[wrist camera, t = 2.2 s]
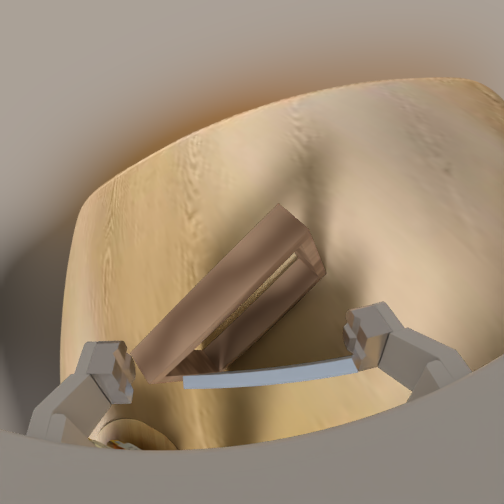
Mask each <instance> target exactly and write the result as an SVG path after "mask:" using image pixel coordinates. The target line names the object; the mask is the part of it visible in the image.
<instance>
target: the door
mask: <svg viewBox="0 0 504 504" xmlns="http://www.w3.org/2000/svg"><path fill="white" fill-rule="evenodd" d="M357 372H358V370H357V368H356V366H355V364H354V362H353V360H352V355H350V356H345V357H340V358H334V359H328V360H322V361H316V362H309V363H302V364H295V365H287V366H279V367H271V368H261V369H251V370H240V371H227V372H217V373H208V374H199V375H189V376H183V384H184V389H207V388H233V387H249V386H262V385H273V384H283V383H292V382H300V381H308V380H315V379H322V378H328V377H335V376H340V375H346V374H352V373H357Z"/></svg>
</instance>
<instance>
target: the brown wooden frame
mask: <svg viewBox="0 0 504 504" xmlns="http://www.w3.org/2000/svg"><path fill="white" fill-rule="evenodd" d="M294 252H295V254H296V255H297V257H298V259H297V260H296V261H295V262H294V263H293V264H292V265H291V266H290V267H289V268H288V269H287V270H286V271H285V272H284V273H283V274H282V275H281V276H280V277H279V278H278V279H277V280H276V281H275V282H274V283H273V284H272V285H271V286H270V287H269V288H268V289H267V290H266V291H265V292H264V293H263V294H262V295H261V296H260V297H259V298H258V299H256V300H255V301H254V302H253V303H252V304H251V305H250V306H249V307H248V308H247V309H246V310H245V311H244V312H243V313H242V314H241V315H240V316H239V317H238V318H237V319H236V320H235V321H234V322H233V323H232V324H230V325H229V326H228V327H227V328H226V329H225V330H224V331H223V332H222V333H221V334H220V335H219V336H218V337H217V338H216V339H215V340H213V341H212V342H211V343H210V344H209V345H208V346H207V347H206V348H205V349H204V350H194V349H195V348H196V347H197V346H198V345H199V344H200V343H202V342H203V341H204V340H205V339H206V338H207V337H208V336H209V335H210V334H211V333H212V332H213V331H214V330H215V329H216V328H217V327H218V326H219V325H221V324H222V323H223V322H224V321H225V320H226V319H227V318H228V317H229V316H230V315H231V314H232V313H233V312H234V311H235V310H236V309H237V308H238V307H239V306H240V305H241V304H242V303H243V302H244V301H245V300H246V299H247V298H249V297H250V296H251V295H252V294H253V293H254V292H255V291H256V290H257V289H258V288H259V287H260V286H261V285H262V284H263V283H264V282H265V281H266V280H267V279H268V278H269V277H270V276H271V275H272V274H273V273H274V272H275V271H276V270H277V269H278V268H279V267H280V266H281V265H282V264H283V263H284V262H285V261H286V260H287V259H288V258H289V257H290V256H291V255H292V254H293V253H294ZM325 274H326V271H325V269H324V266H323V263H322V261H321V258H320V256H319V253H318V251H317V248H316V246H315V243H314V241H313V238H312V236H311V233H310V231H309V229H308V228H307V227H306V226H305V225H304V224H302V223H301V222H300V221H299V220H298V219H297V218H295V217H294V216H293V215H292V214H291V213H290V212H288V211H287V210H286V209H285V208H284V207H283V206H281V205H280V204H279V203H278V204H277V205H276V206H275V207H274V208H273V209H272V210H271V211H270V212H269V213H268V214H267V215H266V216H265V217H264V218H263V219H262V220H261V221H260V222H259V223H258V224H257V225H256V226H255V227H254V228H253V229H252V230H251V231H250V232H249V233H248V234H247V235H246V236H245V237H244V238H243V239H242V240H241V241H240V242H239V243H238V244H237V245H236V246H235V247H234V248H233V249H232V250H231V251H230V252H229V253H228V254H227V255H226V256H225V257H224V258H223V259H222V260H221V261H220V262H219V263H218V264H217V265H216V266H215V267H214V268H213V269H212V270H211V271H210V272H209V273H208V274H207V275H206V276H205V277H204V278H203V279H202V280H201V281H200V282H199V283H198V284H197V285H196V286H195V287H194V288H193V289H192V290H191V291H190V292H189V293H188V294H187V295H186V296H185V297H184V298H183V299H182V300H181V301H180V302H179V303H178V304H177V305H176V306H175V307H174V308H173V309H172V310H171V311H170V312H169V313H168V314H167V315H166V316H165V318H164V319H163V320H162V321H161V322H160V323H159V324H158V325H157V326H156V327H155V328H154V329H153V330H152V331H151V332H150V333H149V334H148V335H147V336H146V337H145V338H144V339H143V340H142V341H141V342H140V343H139V344H138V345H137V346H136V347H135V348H134V349H133V350H132V352H131V353H130V354H131V355H132V357H133V359H134V360H135V362H136V364H137V365H138V367H139V369H140V370H141V372H142V374H143V375H144V377H145V379H146V380H147V382H148V383H149V384H155V383H166V382H176V381H183V376H189V375H199V374H208V373H217V372H223V371H224V370H225V369H226V368H227V367H229V366H230V365H231V364H232V363H233V362H234V361H235V360H236V359H238V358H239V357H240V356H241V355H242V354H243V353H244V352H245V351H246V350H248V349H249V348H250V347H251V346H252V345H253V344H254V343H255V342H256V341H257V340H258V339H260V338H261V337H262V336H263V335H264V334H265V333H266V332H267V331H268V330H269V329H270V328H271V327H272V326H273V325H274V324H276V323H277V322H278V321H279V320H280V319H281V318H282V317H283V316H284V315H285V314H286V313H287V312H288V311H289V310H290V309H291V308H292V307H293V306H294V305H295V304H296V303H297V302H298V301H299V300H300V299H301V298H302V297H303V296H304V295H305V294H306V293H307V292H308V291H309V290H310V289H311V288H312V287H313V286H314V285H315V284H316V283H317V282H318V281H319V280H320V279H321V278H322V277H323V276H324V275H325Z"/></svg>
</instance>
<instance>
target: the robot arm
mask: <svg viewBox="0 0 504 504" xmlns="http://www.w3.org/2000/svg"><path fill="white" fill-rule="evenodd" d="M345 319H346V320H347V324H346V325H345V326H344V328H343V340H344V344H345V346H346V348H347V350H348V351H350V352H351V353H353V355H352V360H353V362H354V364H355V366H356V368H357V370H358V372H359V371H363V370H367V369H371V368H374V367H378V368H380V369H381V370H382V371H384V372H385V373H387V374H388V375H389V376H391V377H392V378H394V379H395V380H397V381H398V382H399V383H401V384H402V385H404V386H405V387H407V388H408V389H409V390H411V391H412V393H411V395H410V397H409V399H408V400H407V402H406V403H405V404H402V405H400V406H397V407H394V408H392V409H389V410H386V411H383V412H381V413H378V414H375V415H372V416H369V417H366V418H363V419H359V420H356V421H353V422H350V423H346V424H343V425H339V426H335V427H332V428H328V429H324V430H320V431H316V432H312V433H307V434H303V435H298V436H293V437H289V438H283V439H278V440H272V441H266V442H260V443H254V444H246V445H239V446H230V447H220V448H209V449H193V450H124V449H109V448H98V447H96V445H94V444H93V443H92V442H91V441H90V440H89V439H88V437H89V435H90V434H91V433H92V431H93V430H94V429H95V427H96V426H97V424H98V423H99V422H100V420H101V419H102V418H103V416H104V415H105V413H106V412H107V411H108V409H109V408H110V407H111V404H131V403H132V396H133V388H132V386H131V383H132V382H133V381H134V380H135V375H136V371H135V364H134V360H133V358H132V356H131V355H129V354H128V353H126V352H127V346H126V344H125V343H124V341H98V342H86V343H85V344H84V347H83V350H82V353H81V356H80V359H79V362H78V365H77V368H76V371H75V374H71V375H70V376H69V377H68V378H67V379H65V380H64V381H63V382H62V383H61V384H60V385H59V386H58V387H57V388H56V389H55V390H54V391H53V392H52V393H51V394H50V395H49V396H48V397H47V398H45V399H44V400H43V401H42V402H41V403H40V404H39V405H38V406H37V407H36V408H35V409H34V411H33V414H32V418H31V421H30V424H29V428H28V431H27V435H26V436H25V435H21V434H17V433H13V432H9V431H6V430H2V429H0V504H504V354H503V355H501V356H499V357H498V358H496V359H494V360H493V361H491V362H489V363H488V364H486V365H484V366H482V367H481V368H479V369H477V370H475V371H473V372H472V371H471V370H470V368H469V367H468V366H467V364H466V363H465V361H464V360H463V359H462V357H461V356H460V355H459V353H458V352H457V351H456V350H454V349H452V348H450V347H448V346H446V345H444V344H442V343H440V342H437V341H435V340H433V339H431V338H429V337H427V336H425V335H423V334H420V333H418V332H416V331H414V330H412V329H410V328H404V326H403V325H402V324H401V322H400V321H399V320H398V318H397V317H396V316H395V314H394V313H393V312H392V310H391V309H390V308H389V306H388V305H387V304H386V303H385V302H379V303H375V304H372V305H367V306H363V307H358V308H354V309H349V310H347V312H346V316H345Z"/></svg>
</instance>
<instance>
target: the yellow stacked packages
mask: <svg viewBox="0 0 504 504" xmlns="http://www.w3.org/2000/svg"><path fill="white" fill-rule="evenodd" d="M88 439H89V438H88ZM89 440H90V441H91V442H92V443H93V444H94V445H96V447H98V448H109V449H124V450H178V449H177V448H176V447H175V446H174V444H173V443H172V442H171V441H170V440H169V439H168V438H167V437H166V436H165V435H164V434H162V433H160V432H159V431H157V430H156V429H153V428H152V427H150V426H148V425H147V424H145V423H144V422H142V421H139V420H134V419H119V420H115V421H113V422H111V423H109V424H107V425H106V426H105V427H104V428H103V429H102V430H101V431H100V432H99V434H98V435H97V437H96V439H95V440H91V439H89Z"/></svg>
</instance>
